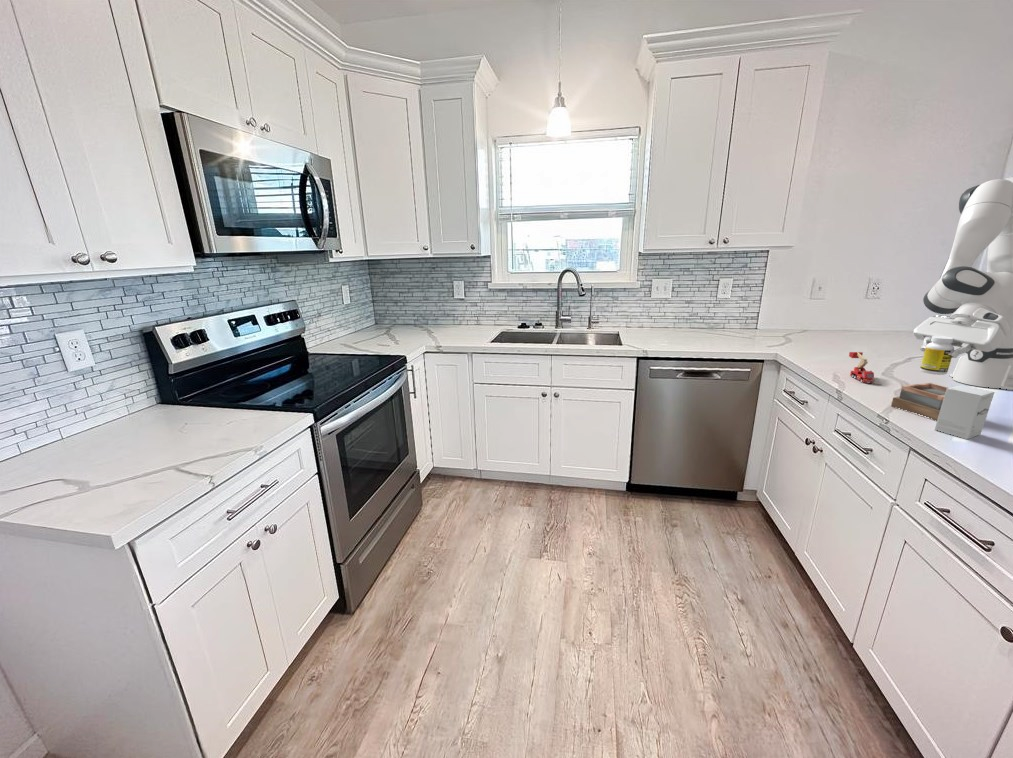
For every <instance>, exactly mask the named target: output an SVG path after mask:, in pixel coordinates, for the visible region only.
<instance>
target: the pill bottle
mask: <svg viewBox="0 0 1013 758" xmlns="http://www.w3.org/2000/svg"><path fill="white" fill-rule="evenodd" d="M931 341H932V343H929V344H927V346H926V348H925V352H923V356H922V361H921V363H920V369H919V370H920V372H922V373H925V374H929V375H930V374H931V375H939V376H941V375H942V376H943V375H944V376H945V375H946V374H948V372H949V369H950V366H951V361H952V357H949V355H948V353H949V352H950V351H951V350H955V346H952V345H951V343H952V342H953V338H951V337H945V336H932V339H931Z"/></svg>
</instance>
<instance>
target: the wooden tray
mask: <svg viewBox="0 0 1013 758" xmlns="http://www.w3.org/2000/svg"><path fill="white" fill-rule="evenodd" d="M947 388H948V387H946V386H942V385H940V384H935V383H932V382H925V383H924V382H923V383H915V384H908V385H907V384H906V385H902V386H901V390H900V393H899V396H896V397H895V396H894V397H893V398H892V401H891V406H890V407H892V406H894V407H893V408H895V407H897V408H896V409H898V408H900V409H899V410H901V409H903V410H902V411H904V410H907V411H910V412H914V413H917V414H920V415H923V416H926V417H929V418H932V419H934V420H933V421H935V420H936V421H935V422H937V420H938V416H939V413H940V410H941V406H942V403H943V399H944V396H945V393H946V389H947ZM907 411H906V412H907ZM910 412H909V413H910Z"/></svg>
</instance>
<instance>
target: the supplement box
mask: <svg viewBox="0 0 1013 758" xmlns="http://www.w3.org/2000/svg"><path fill="white" fill-rule="evenodd" d="M994 395H995V391H993V390H988V389H983V388H977V387H972V386H967V385H962V384H959V385H955V386H952V387H947V389H946V393H945V396H944V399H943V403H942V406H941V410H940V413H939V416H938V420H937V421H936V424H935V426H934V431H937V430H938V431H937V432H940V431H941V433H943V432H944V433H943V434H947V435H950V434H951V436H953V435H954V437H957V436H958V437H957V438H960V437H961V439H965V440H969V439H971V438H973V437H976V436H980V435H981V434H982V432H983V429H984V425H985V422H986V420H987V417H988V413H989V410H990V407H991V405H992V404H991V403H992V400H993V398H994Z"/></svg>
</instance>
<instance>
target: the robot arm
mask: <svg viewBox="0 0 1013 758" xmlns="http://www.w3.org/2000/svg"><path fill="white" fill-rule="evenodd" d="M958 211H959V213H960V217H959V220H958V223H957V227H956V231H955V235H954V239H953V243H952V247H951V250H950V253H949V256H948V259H947V261H946V263H945V266H944V268H943V269H942V273H941V275H940V277H939V279H938V280H937V282H935V284H934V285H933V286H932V287H931V289H929V290H928V291H927V292H926V293H925V294H924V296H923V299H922V300H923V301H922V302H923V305H924V306H925V307H926V309H928V310H929V311H930V312H933V313H936V314H937V315H934V316H929V317H928V318H926V319H925V320H923V321H922V322H921V323H920V324H919V325H917V326H916V327H915V328H914V329H913V335H914V336H915V338H916V339H917V340H920V341H923V344H922V345H921V346H920V349H919V350H920V352H923V353H924V352H925V348H926V346H927V344H929V343H932V341H931V339H932V336H945V337H951V338H953V342H952V343H951V345H952V346H953V347H958V348H956V349H954V350H951V351H950V352H949V353H948V355H949V357H952V358H953V359H957V358H958V357H959V356H960V355H961V356H960V357H959V359H958V360H957V361H958V362H957V363H956V365H955V369H954V371H953V372H950V373H949V375H950V376H949V377H951V378H952V377H953V378H952V380H954V381H955V382H958V383H962V384H965V385H970V386H975V387H980V388H988V387H989V388H990V389H999V388H1001V390H1006V389H1007V391H1013V176H1011V177H1006V178H997V179H996V178H995V179H991V180H987V181H985V182H983V183H981V184H977V185H975V186H972V187H970V188H968V189H966V190H965V191H964V192H963V193H961V195H960V197H959V201H958ZM986 249H987V258H986V271H983V270H979V269H976V268H974V267H973V265H974V264H975V262H976V260H977V259H978V258H979V256H980V255H981V254H982V253H983V252H984V251H985V250H986ZM949 315H950V316H949ZM964 353H965V354H964ZM962 354H963V355H962ZM952 358H951V359H952ZM989 388H988V389H989Z"/></svg>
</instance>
